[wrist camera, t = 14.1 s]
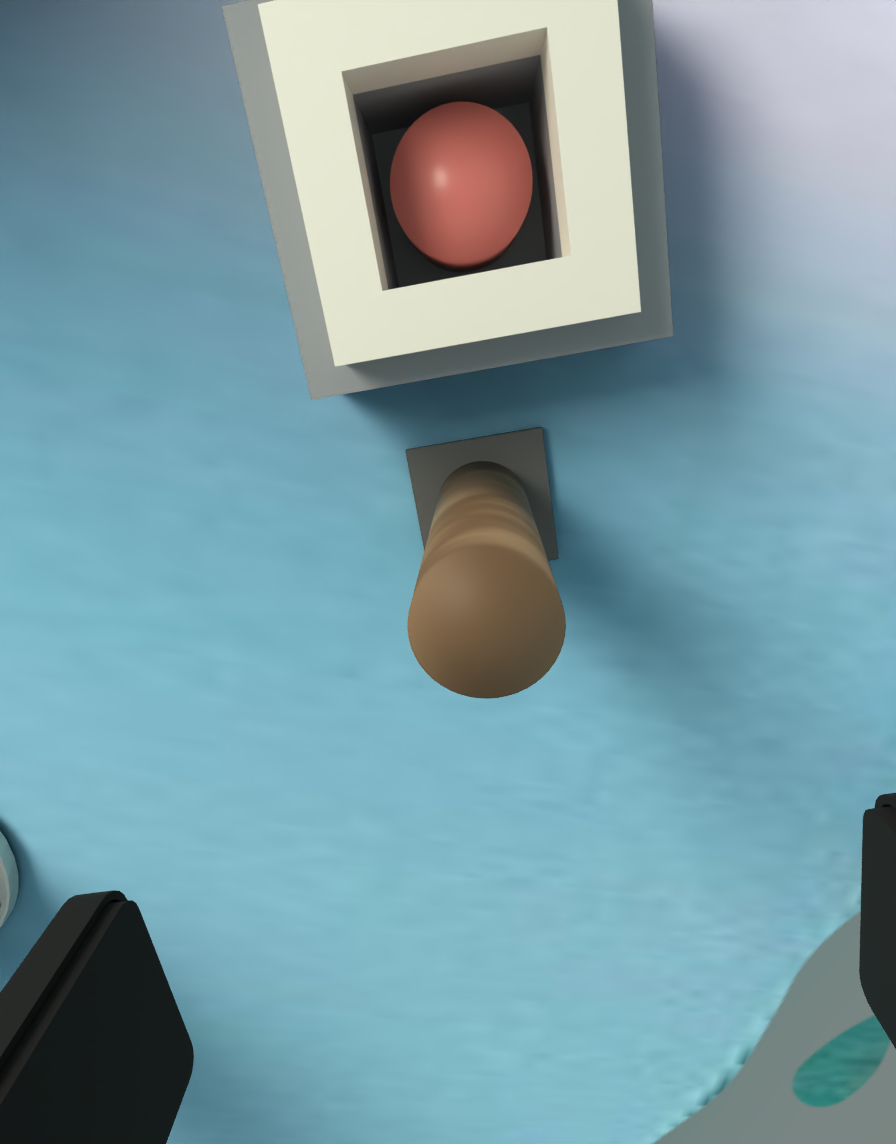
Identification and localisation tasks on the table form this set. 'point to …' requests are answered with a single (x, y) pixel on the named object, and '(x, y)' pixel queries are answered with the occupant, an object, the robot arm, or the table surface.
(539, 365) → the table surface
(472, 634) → the brown rounded cylinder
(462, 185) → the egg
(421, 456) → the coaster
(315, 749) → the table surface
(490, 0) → the grey white square holder
